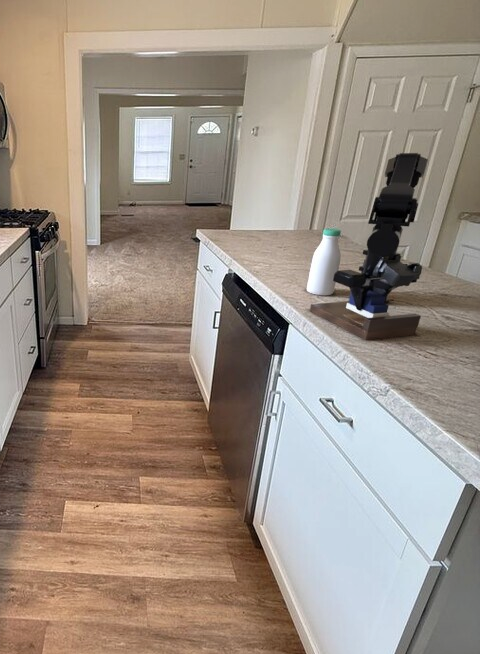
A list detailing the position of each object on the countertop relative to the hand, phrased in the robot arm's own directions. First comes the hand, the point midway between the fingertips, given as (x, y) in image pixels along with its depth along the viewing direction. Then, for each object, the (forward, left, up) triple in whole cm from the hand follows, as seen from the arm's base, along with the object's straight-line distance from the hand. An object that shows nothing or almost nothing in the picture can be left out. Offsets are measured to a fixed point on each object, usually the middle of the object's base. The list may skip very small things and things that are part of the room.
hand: (366, 309), depth 101 cm
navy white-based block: (0, 0, -1) cm, 1 cm away
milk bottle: (-27, +9, -5) cm, 29 cm away
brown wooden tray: (-3, +2, -5) cm, 6 cm away
